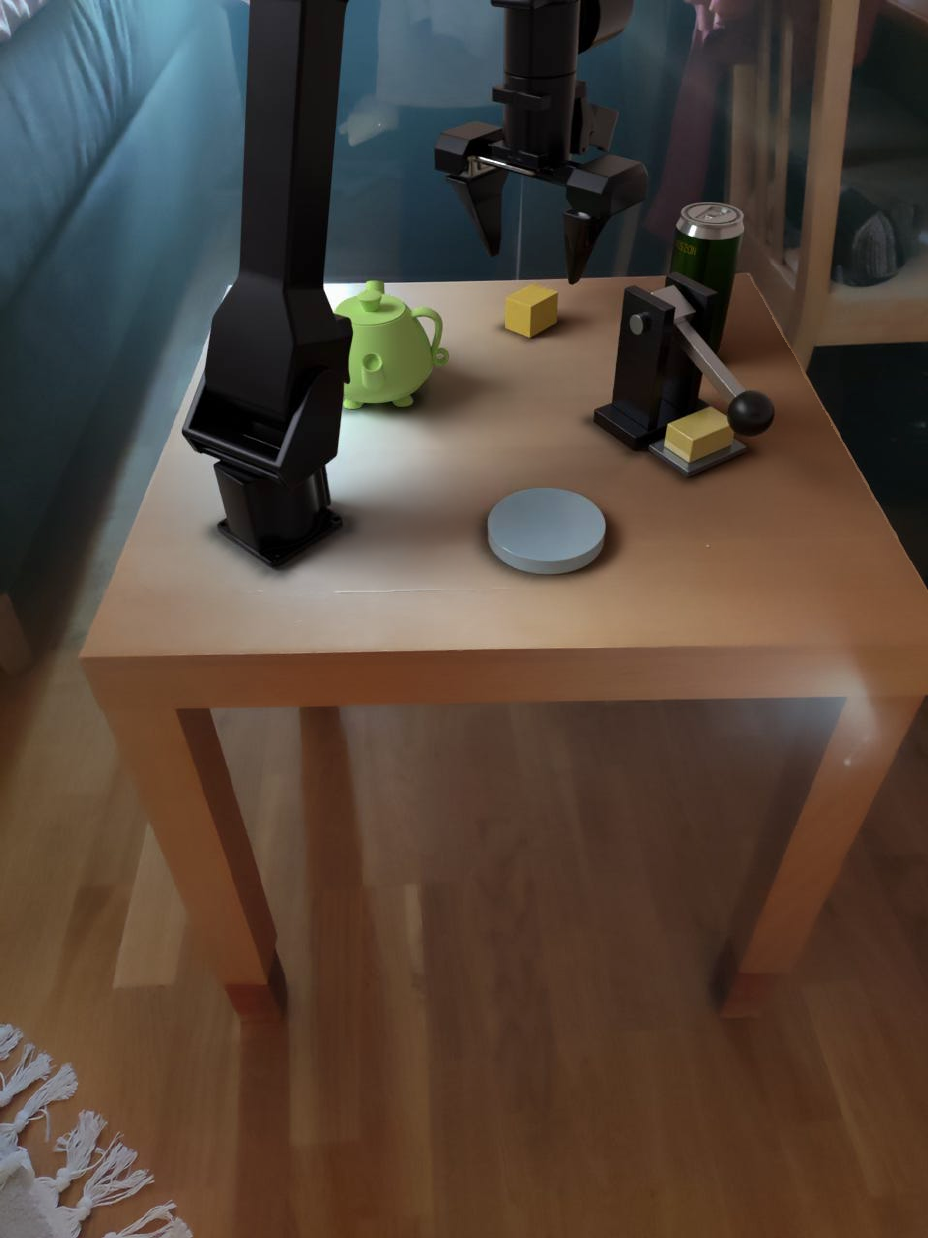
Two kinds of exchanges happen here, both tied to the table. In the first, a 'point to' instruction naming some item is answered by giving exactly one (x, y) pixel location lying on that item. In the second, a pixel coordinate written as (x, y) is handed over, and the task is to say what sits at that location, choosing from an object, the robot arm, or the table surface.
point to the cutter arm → (718, 372)
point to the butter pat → (531, 310)
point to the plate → (546, 530)
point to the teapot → (388, 348)
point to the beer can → (709, 254)
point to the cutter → (655, 365)
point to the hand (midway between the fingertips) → (532, 268)
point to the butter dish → (698, 464)
